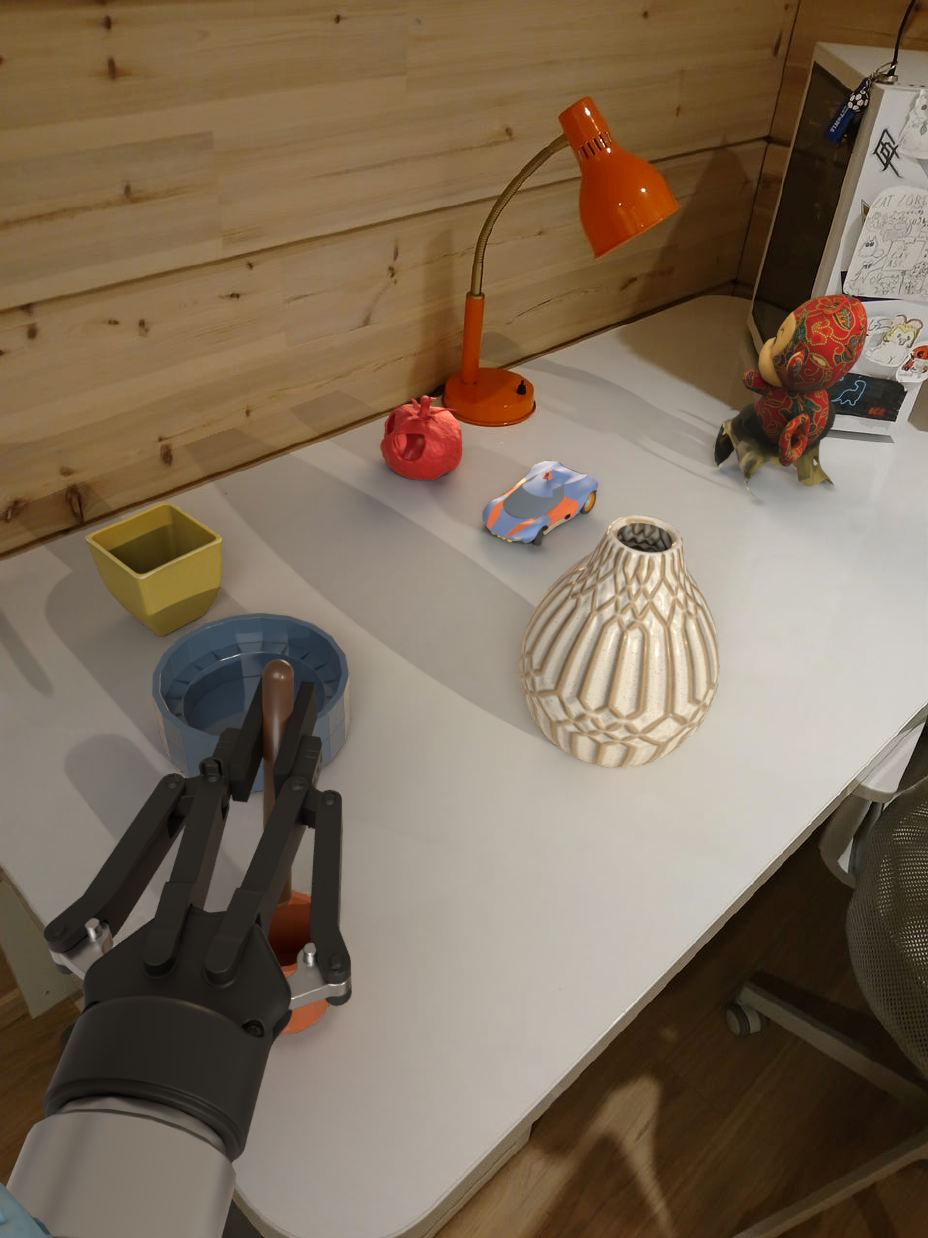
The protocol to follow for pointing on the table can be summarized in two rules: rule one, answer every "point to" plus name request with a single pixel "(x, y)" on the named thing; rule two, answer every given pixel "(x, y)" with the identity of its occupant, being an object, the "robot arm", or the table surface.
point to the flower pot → (160, 566)
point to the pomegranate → (422, 440)
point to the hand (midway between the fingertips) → (289, 697)
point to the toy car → (540, 503)
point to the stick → (275, 737)
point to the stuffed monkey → (796, 389)
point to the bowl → (244, 683)
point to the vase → (622, 650)
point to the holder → (294, 952)
